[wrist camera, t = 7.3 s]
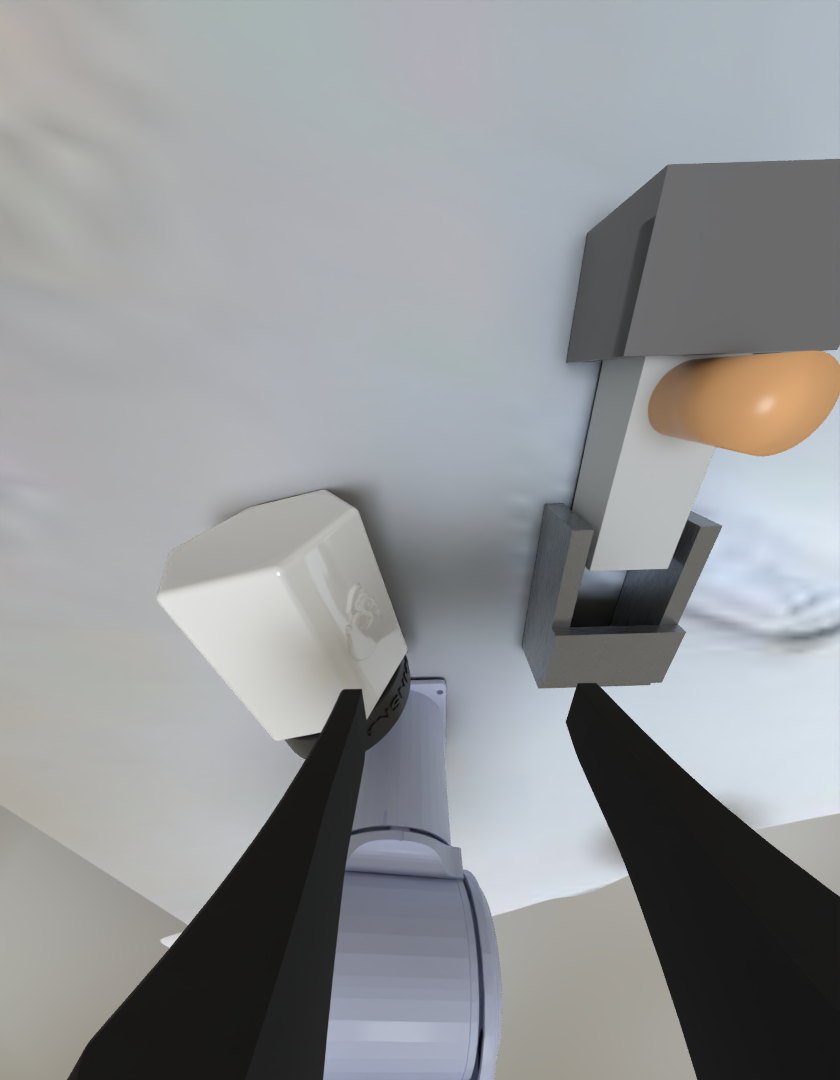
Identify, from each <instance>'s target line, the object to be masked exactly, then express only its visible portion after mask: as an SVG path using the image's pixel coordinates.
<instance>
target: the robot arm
mask: <svg viewBox="0 0 840 1080" xmlns="http://www.w3.org/2000/svg"><path fill="white" fill-rule="evenodd" d="M566 724H567V727H568V730H569V733H570V736H571V740H572V743H573V745H574V748H575V751H576V754H577V757H578V759H579V762H580V764H581V766H582V768H583V771H584V773H585V775H586V777H587V780H588V782H589V784H590V786H591V788H592V791H593V793H594V795H595V797H596V800H597V802H598V804H599V806H600V808H601V811H602V813H603V815H604V817H605V819H606V822H607V824H608V826H609V828H610V830H611V833H612V835H613V837H614V839H615V841H616V844H617V846H618V849H619V851H620V853H621V856H622V858H623V861H624V863H625V866H626V868H627V871H628V874H629V876H630V879H631V882H632V884H633V887H634V890H635V893H636V895H637V898H638V901H639V903H640V906H641V909H642V912H643V915H644V918H645V920H646V923H647V926H648V929H649V932H650V935H651V938H652V941H653V943H654V946H655V949H656V952H657V955H658V957H659V960H660V964H661V967H662V970H663V973H664V976H665V979H666V981H667V985H668V988H669V991H670V994H671V997H672V1000H673V1003H674V1006H675V1009H676V1012H677V1015H678V1018H679V1021H680V1025H681V1028H682V1031H683V1034H684V1038H685V1041H686V1044H687V1047H688V1050H689V1054H690V1057H691V1061H692V1064H693V1067H694V1070H695V1073H696V1077H697V1080H840V897H839V896H838V895H837V894H835V893H834V892H832V891H831V890H830V889H828V888H827V887H826V886H825V885H823V884H822V883H821V882H819V881H818V880H817V879H815V878H814V877H813V876H811V875H810V874H809V873H808V872H806V871H805V870H804V869H802V868H801V867H800V866H798V865H797V864H795V863H794V862H793V861H792V860H790V859H789V858H788V857H787V856H785V855H784V854H783V853H781V852H780V851H779V850H777V849H776V848H775V847H774V846H772V845H771V844H770V843H769V842H767V841H766V840H765V839H764V838H762V837H761V836H760V835H759V834H757V833H756V832H755V831H754V830H753V829H751V828H750V827H749V826H748V825H747V824H745V823H744V822H743V821H742V820H741V819H739V818H738V817H737V816H736V815H735V814H733V813H732V812H731V811H730V810H729V809H727V808H726V807H725V806H724V805H723V804H722V803H720V802H719V801H718V800H717V799H716V798H715V797H714V796H712V795H711V794H710V793H709V792H708V791H707V790H706V789H704V788H703V787H702V786H701V785H700V784H699V783H698V782H697V781H696V780H695V779H693V778H692V777H691V776H690V775H689V774H688V773H687V772H686V771H685V770H684V769H683V768H681V767H680V766H679V765H678V764H677V763H676V762H675V761H674V760H673V759H672V758H671V757H670V756H669V755H668V754H667V753H666V752H665V751H664V750H663V749H661V748H660V747H659V746H658V745H657V744H656V743H655V742H654V741H653V740H652V739H651V738H650V737H649V736H648V735H647V734H646V733H645V732H644V731H643V730H642V729H641V728H640V727H639V726H638V725H637V724H636V723H635V722H634V721H633V720H632V719H631V718H630V717H629V716H628V715H627V714H626V713H625V712H624V711H623V710H622V709H621V708H620V707H619V706H618V705H617V704H616V703H615V702H614V701H613V700H612V699H611V697H610V696H609V695H608V694H607V693H606V692H605V691H604V690H603V689H602V688H601V687H600V686H599V685H598V684H597V683H578V684H577V687H576V690H575V694H574V697H573V700H572V704H571V707H570V710H569V713H568V717H567V720H566ZM367 730H368V726H367V719H366V713H365V706H364V700H363V693H362V689H343V690H342V691H341V692H340V694H339V697H338V699H337V701H336V703H335V705H334V708H333V710H332V712H331V714H330V716H329V718H328V720H327V722H326V724H325V726H324V727H323V729H322V731H321V733H320V735H319V737H318V739H317V740H316V742H315V744H314V746H313V748H312V749H311V751H310V753H309V755H308V756H307V758H306V760H305V762H304V763H303V765H302V767H301V768H300V770H299V772H298V773H297V775H296V777H295V778H294V780H293V781H292V783H291V785H290V786H289V788H288V789H287V791H286V793H285V794H284V796H283V797H282V799H281V801H280V802H279V804H278V805H277V807H276V808H275V810H274V811H273V813H272V814H271V816H270V817H269V819H268V820H267V822H266V823H265V824H264V826H263V827H262V829H261V830H260V832H259V833H258V835H257V836H256V837H255V839H254V840H253V842H252V843H251V844H250V846H249V847H248V849H247V850H246V851H245V853H244V854H243V855H242V857H241V858H240V859H239V861H238V862H237V863H236V865H235V866H234V868H233V869H232V870H231V872H230V873H229V874H228V876H227V877H226V878H225V880H224V881H223V882H222V884H221V885H220V886H219V887H218V889H217V890H216V891H215V893H214V894H213V895H212V896H211V898H210V899H209V900H208V901H207V903H206V904H205V905H204V906H203V908H202V909H201V910H200V911H199V913H198V914H197V915H196V916H195V918H194V919H193V920H192V921H191V923H190V924H189V925H188V926H187V928H186V929H185V930H184V931H183V932H182V934H181V935H180V936H179V937H178V939H177V940H176V941H175V942H174V944H173V945H172V946H171V947H170V949H169V950H168V951H167V952H166V953H165V954H164V956H163V957H162V958H161V959H160V960H159V962H158V963H157V964H156V965H155V966H154V968H153V969H152V970H151V971H150V972H149V973H148V974H147V976H146V977H145V978H144V979H143V980H142V981H141V982H140V984H139V985H138V986H137V987H136V988H135V990H134V991H133V992H132V993H131V994H130V995H129V996H128V998H127V999H126V1000H125V1001H124V1002H123V1003H122V1005H121V1006H120V1007H119V1008H118V1009H117V1010H116V1011H115V1012H114V1014H113V1015H112V1016H111V1017H110V1018H109V1019H108V1020H107V1022H106V1023H105V1024H104V1025H103V1026H102V1027H101V1029H100V1030H99V1031H98V1032H97V1033H96V1034H95V1035H94V1037H93V1038H92V1039H91V1040H90V1042H89V1043H88V1044H87V1046H86V1047H85V1050H84V1051H83V1053H82V1055H81V1056H80V1058H79V1060H78V1062H77V1063H76V1065H75V1067H74V1069H73V1071H72V1072H71V1074H70V1076H69V1077H68V1079H67V1080H495V1070H496V1061H497V1055H498V1051H499V1046H500V1040H501V1030H502V984H501V971H500V961H499V953H498V946H497V939H496V934H495V929H494V925H493V920H492V916H491V912H490V909H489V905H488V903H487V900H486V898H485V895H484V893H483V891H482V890H481V888H480V887H479V884H478V882H477V880H476V878H475V877H474V875H473V874H472V873H471V872H470V871H468V870H463V867H462V857H461V849H460V848H459V847H452V846H451V840H450V827H449V814H448V800H447V787H446V774H445V761H444V753H445V748H446V682H445V681H444V680H411V683H410V692H409V696H408V700H407V703H406V706H405V708H404V710H403V712H402V714H401V716H400V717H399V719H398V721H397V722H396V724H395V725H394V726H393V727H392V729H391V730H390V731H389V732H388V733H387V734H386V735H385V737H384V738H382V739H381V740H380V741H379V742H378V743H377V744H375V745H374V746H373V747H372V748H370V749H368V750H367V751H366V741H367Z"/></svg>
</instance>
